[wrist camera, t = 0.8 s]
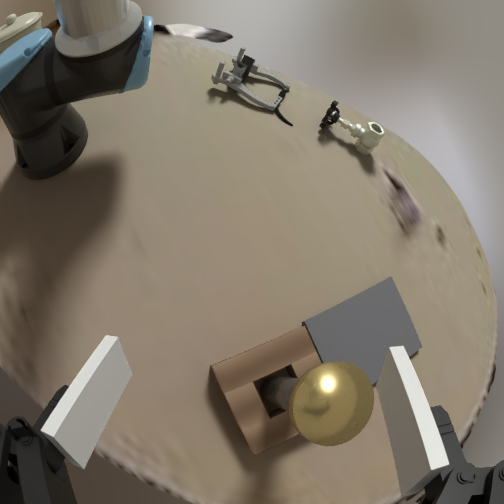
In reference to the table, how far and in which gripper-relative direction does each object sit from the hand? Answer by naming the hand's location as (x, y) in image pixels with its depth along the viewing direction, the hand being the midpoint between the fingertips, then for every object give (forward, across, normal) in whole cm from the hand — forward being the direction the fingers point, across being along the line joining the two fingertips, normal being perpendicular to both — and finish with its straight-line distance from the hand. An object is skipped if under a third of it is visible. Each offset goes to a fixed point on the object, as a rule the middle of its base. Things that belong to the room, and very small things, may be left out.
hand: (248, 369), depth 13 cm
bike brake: (+55, -3, +20) cm, 59 cm away
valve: (+52, +15, +10) cm, 55 cm away
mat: (+23, +15, -17) cm, 32 cm away
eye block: (+15, +1, -19) cm, 25 cm away
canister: (+50, -69, +41) cm, 94 cm away
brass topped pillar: (+14, +1, -19) cm, 24 cm away
